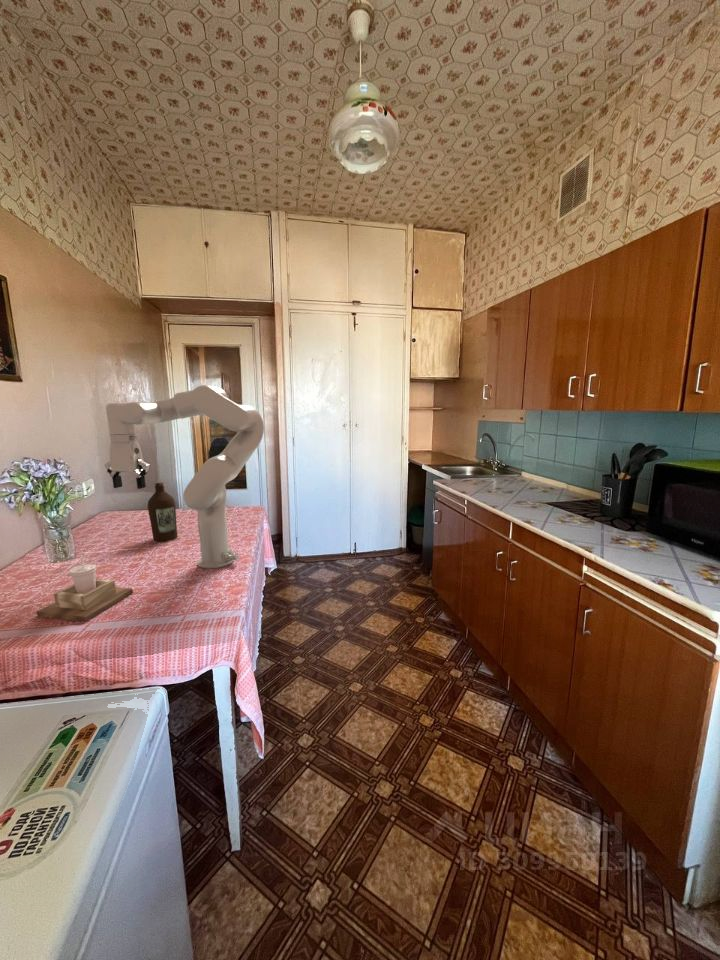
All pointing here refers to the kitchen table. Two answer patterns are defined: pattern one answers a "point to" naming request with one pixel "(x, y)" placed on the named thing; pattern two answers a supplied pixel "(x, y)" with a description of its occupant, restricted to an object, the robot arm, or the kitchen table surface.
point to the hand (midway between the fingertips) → (129, 487)
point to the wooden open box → (84, 601)
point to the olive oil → (162, 515)
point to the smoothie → (84, 577)
